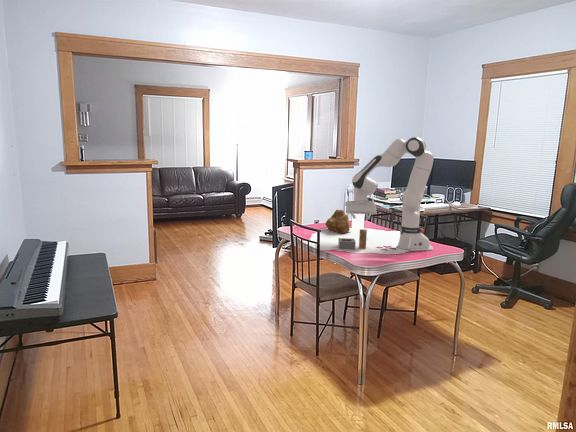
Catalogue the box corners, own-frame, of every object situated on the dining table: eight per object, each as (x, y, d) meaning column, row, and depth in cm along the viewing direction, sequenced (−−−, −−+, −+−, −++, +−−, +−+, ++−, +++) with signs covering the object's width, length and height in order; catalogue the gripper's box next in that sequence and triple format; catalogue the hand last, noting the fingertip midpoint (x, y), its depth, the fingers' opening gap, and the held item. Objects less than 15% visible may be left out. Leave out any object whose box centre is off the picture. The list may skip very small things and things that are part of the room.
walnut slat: (365, 247, 276) (366, 229, 274) (365, 248, 273) (366, 230, 271) (358, 247, 276) (359, 229, 274) (359, 248, 274) (360, 230, 271)
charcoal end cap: (353, 246, 280) (354, 238, 279) (355, 249, 271) (355, 242, 270) (338, 245, 280) (338, 238, 279) (339, 249, 271) (339, 241, 270)
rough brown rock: (323, 228, 341) (322, 209, 337) (343, 226, 342) (343, 208, 339) (329, 236, 318) (328, 216, 315) (351, 234, 320) (350, 214, 316)
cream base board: (368, 248, 280) (369, 246, 280) (371, 253, 270) (371, 250, 269) (338, 247, 281) (338, 245, 281) (339, 252, 270) (339, 249, 270)
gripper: (345, 198, 289) (346, 215, 282) (376, 199, 288) (377, 216, 281) (344, 203, 295) (345, 220, 287) (374, 204, 294) (376, 221, 286)
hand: (361, 218), depth 284 cm, fingers open, 8 cm apart
